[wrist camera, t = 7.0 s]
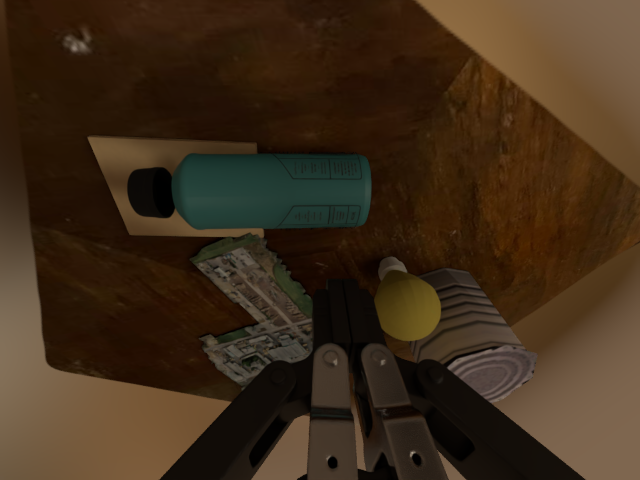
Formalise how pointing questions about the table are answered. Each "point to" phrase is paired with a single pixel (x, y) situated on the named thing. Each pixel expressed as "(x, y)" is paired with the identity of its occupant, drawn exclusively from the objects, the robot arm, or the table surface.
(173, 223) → the mat
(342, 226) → the beverage bottle
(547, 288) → the table surface
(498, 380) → the can
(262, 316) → the model
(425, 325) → the light bulb
